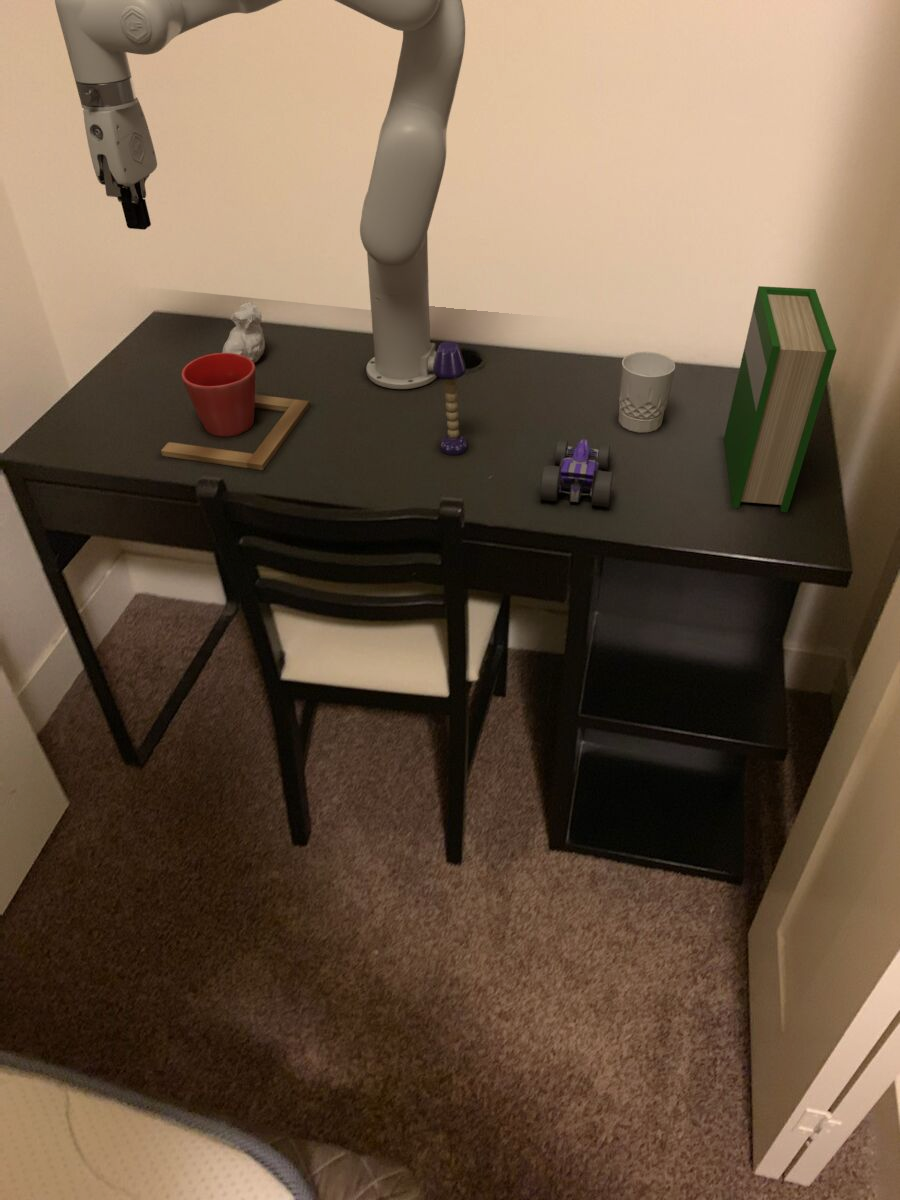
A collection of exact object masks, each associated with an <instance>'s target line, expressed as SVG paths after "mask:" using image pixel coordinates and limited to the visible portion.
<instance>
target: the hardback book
mask: <svg viewBox="0 0 900 1200" xmlns="http://www.w3.org/2000/svg"><path fill="white" fill-rule="evenodd" d="M754 299H755V300H754V304H753V309H752V312H751V317H750V322H749V325H748V331H747V334H746V339H745V344H744V348H743V352H742V357H741V360H740V366H739V370H738V374H737V378H736V384H735V388H734V391H733V396H732V401H731V404H730V409H729V413H728V419H727V423H726V427H725V432H724V436H723V446H724V452H725V462H726V469H727V477H728V484H729V486H728V487H729V494H730V500H731V508H732V509H740V506H741V503H753V504H765V505H775V506H777V505H778V506H779V511H780V513H789V509H790V506H791V502H792V499H793V497H794V493H795V489H796V486H797V483H798V480H799V476H800V473H801V470H802V466H803V463H804V460H805V456H806V452H807V450H808V446H809V443H810V439H811V437H812V433H813V429H814V426H815V423H816V420H817V416H818V413H819V411H820V407H821V403H822V399H823V397H824V393H825V390H826V388H827V387H826V386H827V384H828V380H829V377H830V374H831V370H832V367H833V364H834V360H835V357H836V354H837V350H838V349H837V347H836V344H835V341H834V338H833V334H832V333H831V330H830V326H829V324H828V321H827V318H826V316H825V315H826V314H825V312H824V309H823V307H822V304H821V301H820V298H819V296H818V293H817V289H816V288H804V287H803V288H802V287H781V286H765V285H764V286H760V285H758V286H757V291H756V295H755V298H754Z"/></svg>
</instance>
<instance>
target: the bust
mask: <svg viewBox="0 0 900 1200" xmlns="http://www.w3.org/2000/svg"><path fill="white" fill-rule="evenodd" d="M230 321H232V322H233V323H234V324H235V326H234V327H233V328H232V329H231V330H230V331H229V336H228V338H227V340H226V341H225V343H224V344H223V348H222V352H221V353H234V354H239V355H243V356H245V357H247V358H249V359H250V360H252V361H253V363H254V364H255V363H257V362H258V361H259V360H260V358H261V357H262V356H263V354H264V351H265V348H266V344H265V343H266V341H265V336H264V333H263V331H264V330H263V328H262V326H261V325H260V324H261V323H262V312H261V310H260V308H259V307H258V306H257V305H255V304H253V303H252V302H251V301H248V302H245V303H243V304H241V305H239V306H238V307H237V309H236V311H235V312H233V313H232V314H231V315H230Z"/></svg>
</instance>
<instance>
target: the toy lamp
mask: <svg viewBox="0 0 900 1200" xmlns="http://www.w3.org/2000/svg"><path fill="white" fill-rule="evenodd" d="M436 351H437V354H436V359H435V363H434V374H435V375H436V376H437V378H438V379H441V380H444V391H445V395H444V398H445V401H446V402H445V409H446V412H445V417H446V419H447V421H446V426H447V435H445V436H444V437H443V438H442V439H441V441H440V443H439V450H440V451H441V452H442V453H443V454H445V455H448V456H459V455H462V454H464V453H465V452H466V451H467V450H468V447H469V446H468V441H467V439H466V438H465V437H464V436H462V435H461V434H460V430H459V425H460V423H459V412H458V408H459V404H458V401H457V400H458V392H457V389H458V384H457V379H459V378H462V377H463V376H464V375H465V374H466V372H467V366H466V363H465V360H464V359H465V358H464V357H463V356H464V355H463V353H462V351H461V348H460V345H459V344H458V343H457V342H454V341H443V342H441V343H440V344H438V347H437V350H436Z"/></svg>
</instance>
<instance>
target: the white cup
mask: <svg viewBox="0 0 900 1200" xmlns="http://www.w3.org/2000/svg"><path fill="white" fill-rule="evenodd" d="M620 369H621V371H620V382H619V395H618V400H619V402H618V405H619V408H618V409H619V411H618V423H619V425H620V426H621V427H622V428H623V429H626V430H627V431H629V432H634V433H639V434H641V433H642V434H644V433H645V434H646V433H651V432H654V431H657V430H659V428H661V426H662V424H663V419H664V415H665V410H666V409H667V405H668V402H669V397H670V393H671V388H672V384H673V379H674V375H675V370H676V363H675V361H674V360H673V359H672V358H670V357H669V356H666V354H663V353H658V352H654V351H636V352H633V353H629V354H627V355H625V356H624V357H623V359H622V361H621V368H620Z"/></svg>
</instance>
